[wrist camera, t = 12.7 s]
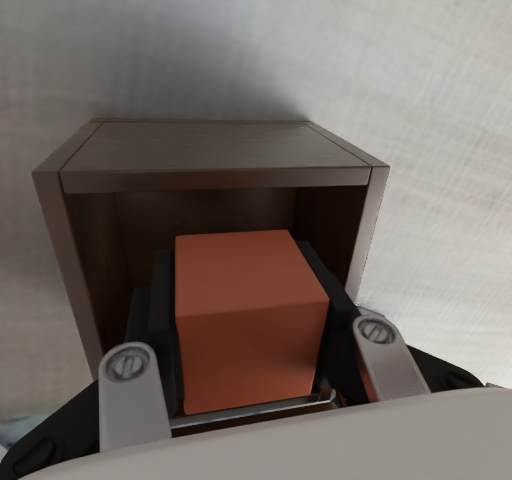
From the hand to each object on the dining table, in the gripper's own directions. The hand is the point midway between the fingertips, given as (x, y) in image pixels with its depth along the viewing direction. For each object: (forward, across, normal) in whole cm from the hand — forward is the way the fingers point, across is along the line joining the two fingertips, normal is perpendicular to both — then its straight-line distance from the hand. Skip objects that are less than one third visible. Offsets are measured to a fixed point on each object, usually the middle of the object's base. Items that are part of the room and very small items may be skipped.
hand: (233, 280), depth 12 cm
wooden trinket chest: (+10, 0, +3) cm, 11 cm away
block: (0, 0, 0) cm, 0 cm away
